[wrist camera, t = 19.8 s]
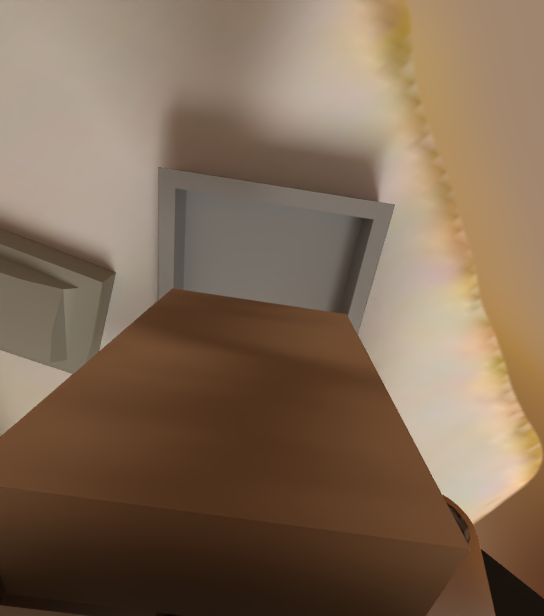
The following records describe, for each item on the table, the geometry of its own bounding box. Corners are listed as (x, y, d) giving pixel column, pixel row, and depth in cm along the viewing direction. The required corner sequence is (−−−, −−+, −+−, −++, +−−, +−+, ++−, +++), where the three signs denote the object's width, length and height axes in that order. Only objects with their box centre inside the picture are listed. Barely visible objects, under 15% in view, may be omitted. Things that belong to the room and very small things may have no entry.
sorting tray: (172, 350, 25) (158, 369, 22) (175, 170, 19) (158, 167, 17) (333, 372, 25) (339, 395, 22) (379, 203, 20) (395, 204, 17)
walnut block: (170, 423, 12) (35, 699, 5) (172, 288, 10) (-50, 479, 3) (312, 443, 12) (346, 735, 6) (346, 314, 10) (470, 549, 3)
